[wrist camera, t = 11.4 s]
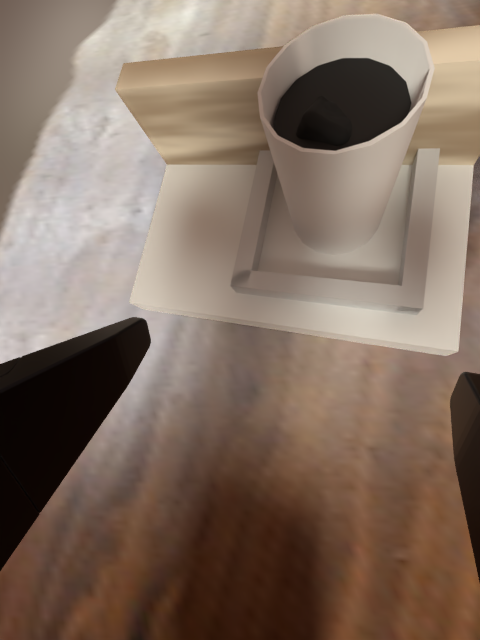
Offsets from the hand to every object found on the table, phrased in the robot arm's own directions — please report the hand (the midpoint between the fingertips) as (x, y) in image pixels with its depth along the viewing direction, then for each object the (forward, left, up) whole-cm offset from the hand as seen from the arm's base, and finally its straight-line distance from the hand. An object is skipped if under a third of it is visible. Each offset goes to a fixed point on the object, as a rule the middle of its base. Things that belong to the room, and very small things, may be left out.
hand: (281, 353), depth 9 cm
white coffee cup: (+11, -1, -12) cm, 16 cm away
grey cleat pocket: (+9, +2, -14) cm, 17 cm away
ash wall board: (+16, +2, -14) cm, 21 cm away
